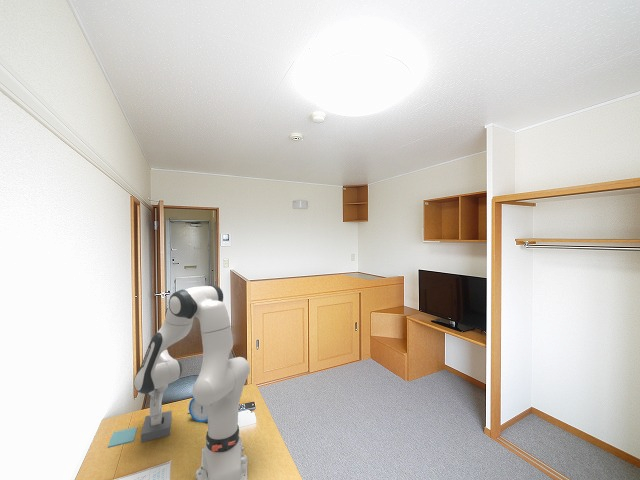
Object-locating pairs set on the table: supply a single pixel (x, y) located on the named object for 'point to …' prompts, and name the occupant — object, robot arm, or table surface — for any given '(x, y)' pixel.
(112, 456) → the table surface
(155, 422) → the plug
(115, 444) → the mat
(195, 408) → the alarm clock
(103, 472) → the table surface
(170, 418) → the socket header
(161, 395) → the robot arm
